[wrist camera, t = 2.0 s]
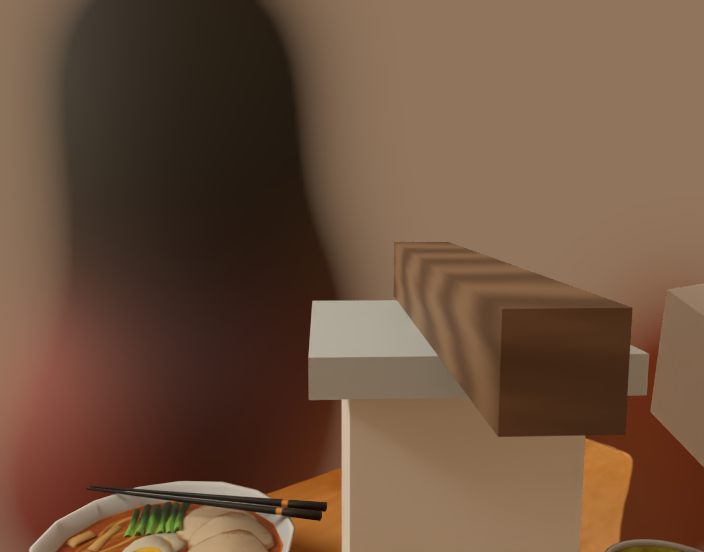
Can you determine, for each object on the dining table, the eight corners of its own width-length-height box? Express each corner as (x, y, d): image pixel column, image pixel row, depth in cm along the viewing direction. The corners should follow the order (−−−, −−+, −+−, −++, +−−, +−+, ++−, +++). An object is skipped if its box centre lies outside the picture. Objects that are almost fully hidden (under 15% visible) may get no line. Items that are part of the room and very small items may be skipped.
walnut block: (625, 434, 20) (632, 307, 19) (498, 436, 20) (502, 309, 19) (447, 295, 48) (448, 242, 47) (393, 296, 47) (394, 242, 47)
